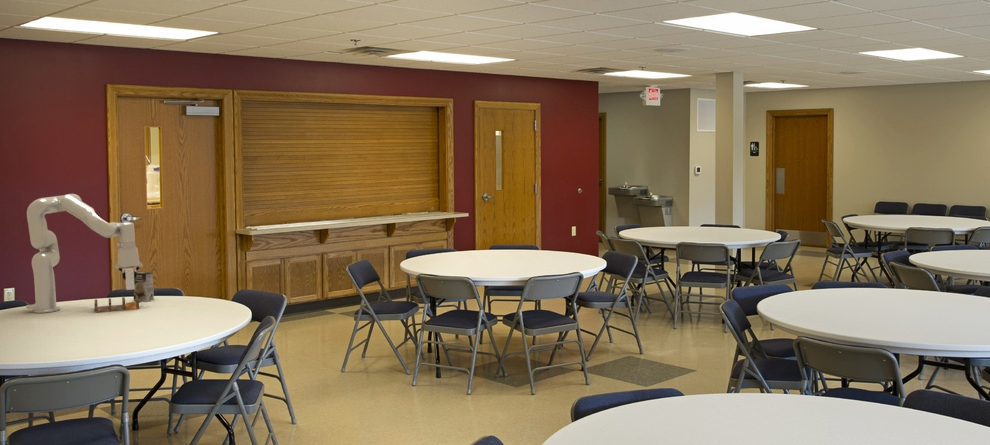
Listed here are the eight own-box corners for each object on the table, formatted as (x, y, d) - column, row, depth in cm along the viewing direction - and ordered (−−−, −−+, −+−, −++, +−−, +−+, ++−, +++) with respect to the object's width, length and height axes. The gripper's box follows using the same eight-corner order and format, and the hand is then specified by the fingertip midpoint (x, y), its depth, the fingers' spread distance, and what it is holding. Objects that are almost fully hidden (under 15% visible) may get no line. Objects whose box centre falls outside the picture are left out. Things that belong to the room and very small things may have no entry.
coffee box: (133, 301, 468) (131, 272, 467) (141, 299, 474) (139, 271, 473) (146, 302, 466) (145, 273, 464) (154, 300, 472) (153, 271, 471)
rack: (94, 313, 434) (94, 303, 434) (95, 308, 448) (94, 299, 448) (139, 309, 443) (139, 300, 443) (138, 304, 457) (137, 296, 457)
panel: (126, 289, 442) (125, 271, 441) (126, 287, 452) (124, 268, 451) (134, 289, 444) (133, 270, 443) (134, 286, 454) (132, 268, 453)
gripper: (110, 247, 439) (112, 281, 440) (145, 245, 446) (147, 279, 447) (110, 246, 446) (112, 280, 447) (144, 243, 453) (146, 277, 454)
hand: (129, 279), depth 447 cm, fingers closed on panel, 4 cm apart
